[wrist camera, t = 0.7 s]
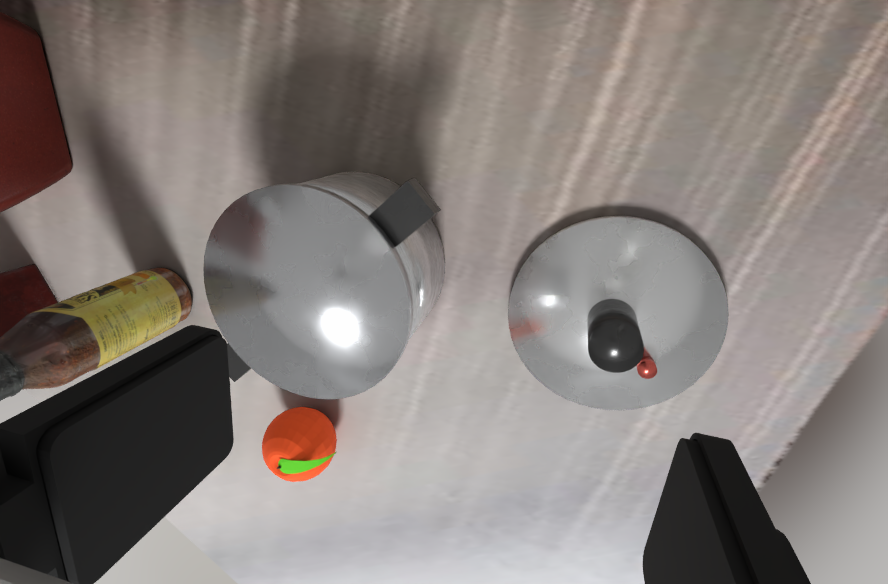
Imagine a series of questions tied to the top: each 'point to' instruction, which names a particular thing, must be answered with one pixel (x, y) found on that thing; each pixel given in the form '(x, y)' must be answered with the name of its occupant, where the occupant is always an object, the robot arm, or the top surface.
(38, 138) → the plant pot
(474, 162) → the top surface
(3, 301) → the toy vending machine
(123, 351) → the sauce bottle
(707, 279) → the lid
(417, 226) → the pot
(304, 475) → the clementine
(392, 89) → the top surface
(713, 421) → the top surface
